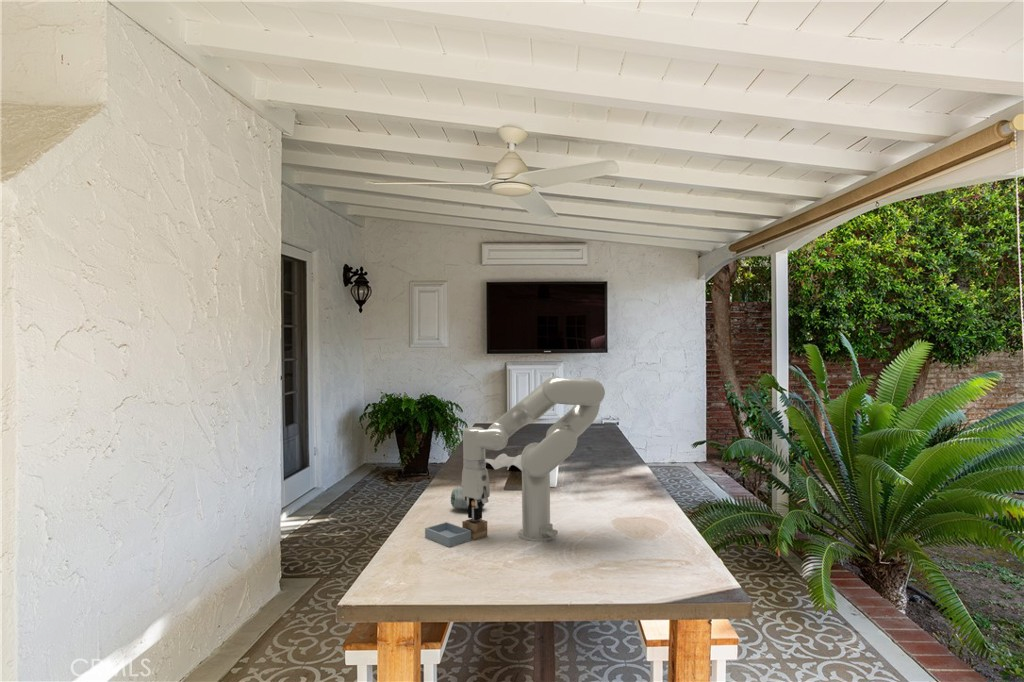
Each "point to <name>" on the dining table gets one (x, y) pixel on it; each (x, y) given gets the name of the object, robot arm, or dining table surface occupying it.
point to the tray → (448, 534)
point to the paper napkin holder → (505, 461)
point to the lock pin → (473, 511)
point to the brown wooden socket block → (476, 528)
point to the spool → (459, 499)
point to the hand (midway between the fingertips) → (475, 517)
